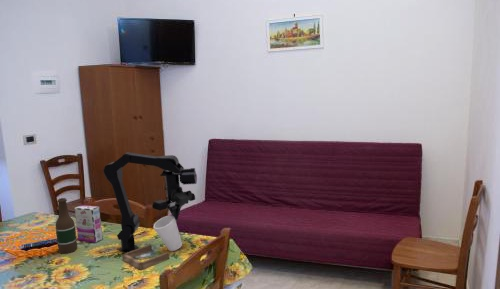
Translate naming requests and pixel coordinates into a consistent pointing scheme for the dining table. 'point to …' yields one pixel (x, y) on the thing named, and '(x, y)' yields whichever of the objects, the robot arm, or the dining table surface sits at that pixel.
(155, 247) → the dining table surface
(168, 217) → the foam cup
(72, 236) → the beer bottle
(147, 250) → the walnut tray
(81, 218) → the candy bar box
